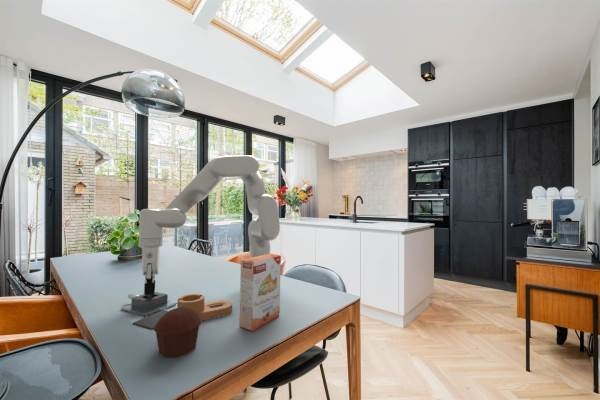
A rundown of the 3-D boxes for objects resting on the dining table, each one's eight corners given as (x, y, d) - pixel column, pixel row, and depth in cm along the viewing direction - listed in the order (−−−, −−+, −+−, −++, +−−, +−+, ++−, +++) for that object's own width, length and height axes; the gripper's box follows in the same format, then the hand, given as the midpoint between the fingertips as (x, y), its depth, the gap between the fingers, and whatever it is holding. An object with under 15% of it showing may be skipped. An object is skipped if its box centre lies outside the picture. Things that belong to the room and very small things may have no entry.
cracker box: (253, 332, 79) (254, 261, 80) (238, 327, 82) (239, 259, 83) (281, 316, 91) (281, 254, 91) (267, 312, 94) (267, 252, 95)
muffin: (167, 337, 76) (168, 302, 76) (206, 337, 76) (207, 302, 76) (144, 362, 64) (144, 320, 64) (190, 362, 64) (191, 320, 64)
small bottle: (153, 301, 97) (154, 274, 97) (144, 303, 95) (144, 275, 96) (154, 299, 99) (155, 272, 100) (144, 300, 98) (145, 273, 98)
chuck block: (177, 304, 100) (177, 293, 100) (147, 316, 89) (148, 304, 89) (144, 297, 107) (144, 287, 107) (113, 308, 96) (113, 296, 96)
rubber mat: (182, 315, 90) (182, 314, 90) (152, 329, 80) (152, 328, 80) (163, 311, 94) (163, 310, 94) (132, 323, 84) (132, 322, 84)
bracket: (180, 326, 83) (180, 304, 83) (175, 317, 90) (175, 296, 90) (235, 313, 93) (235, 293, 93) (227, 306, 100) (227, 287, 100)
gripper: (161, 245, 92) (160, 298, 92) (163, 239, 107) (161, 285, 106) (136, 246, 89) (134, 301, 89) (141, 240, 103) (140, 287, 103)
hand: (149, 292), depth 97 cm, fingers closed on small bottle, 2 cm apart
